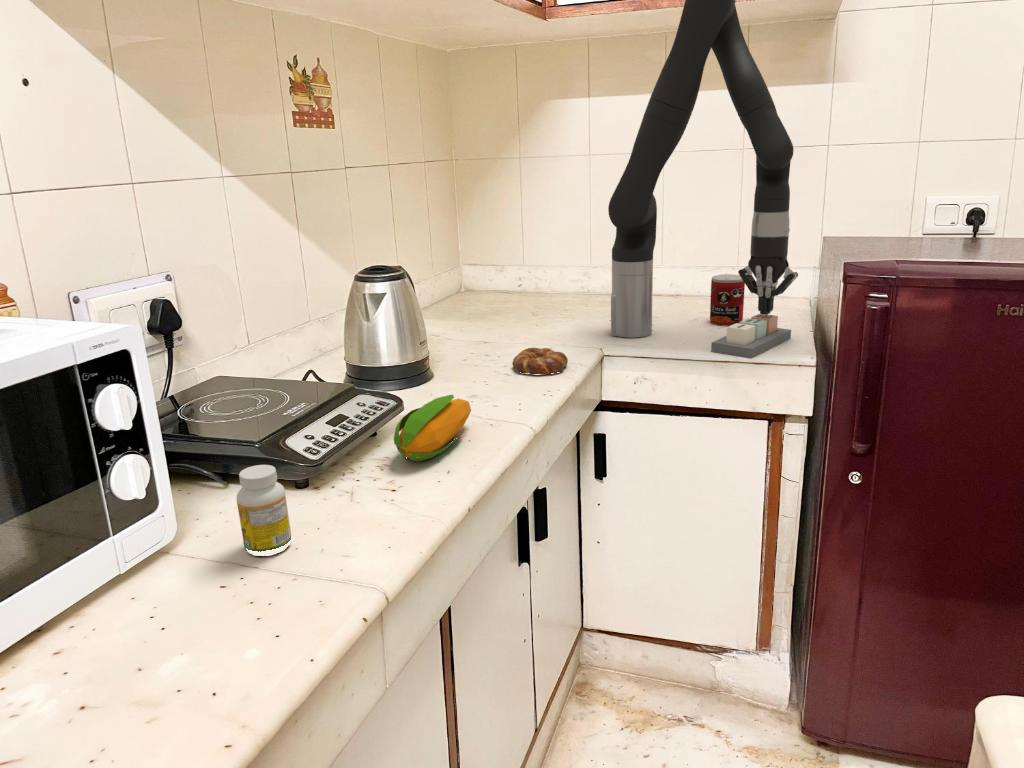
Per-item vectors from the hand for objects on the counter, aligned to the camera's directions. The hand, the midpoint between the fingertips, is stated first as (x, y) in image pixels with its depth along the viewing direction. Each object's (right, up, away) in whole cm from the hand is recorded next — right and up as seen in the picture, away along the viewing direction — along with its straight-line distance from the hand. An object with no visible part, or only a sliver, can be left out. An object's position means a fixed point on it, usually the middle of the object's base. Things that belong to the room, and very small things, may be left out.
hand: (765, 313), depth 167 cm
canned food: (-3, -1, +18) cm, 19 cm away
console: (-4, -7, -2) cm, 8 cm away
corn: (-67, -25, -49) cm, 86 cm away
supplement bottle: (-84, -35, -77) cm, 119 cm away
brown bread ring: (-50, -13, -12) cm, 53 cm away
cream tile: (-7, -7, -6) cm, 12 cm away
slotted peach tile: (0, -4, +1) cm, 4 cm away
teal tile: (-4, -5, -2) cm, 7 cm away
